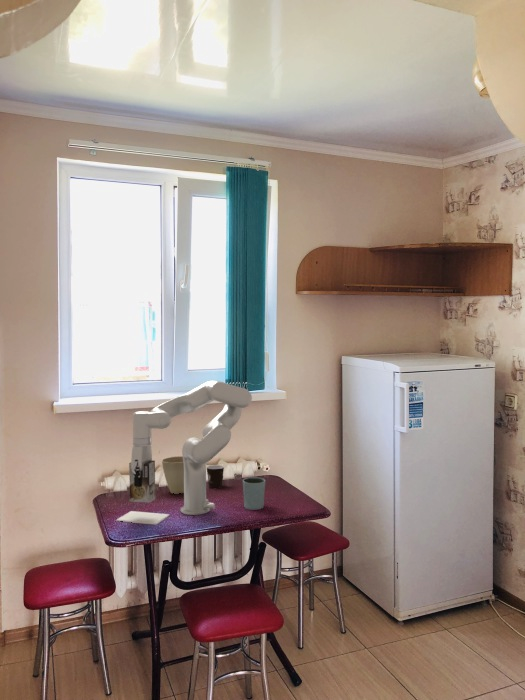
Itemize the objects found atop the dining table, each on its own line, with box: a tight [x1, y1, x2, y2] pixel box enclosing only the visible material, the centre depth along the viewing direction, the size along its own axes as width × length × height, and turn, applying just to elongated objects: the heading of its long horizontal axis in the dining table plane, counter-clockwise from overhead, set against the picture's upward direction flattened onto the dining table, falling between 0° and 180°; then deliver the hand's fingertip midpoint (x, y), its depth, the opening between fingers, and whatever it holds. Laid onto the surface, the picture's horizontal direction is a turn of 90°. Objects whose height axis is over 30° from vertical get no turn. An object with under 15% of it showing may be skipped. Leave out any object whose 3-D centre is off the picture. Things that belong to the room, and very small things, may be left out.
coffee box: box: [128, 459, 156, 503], centre depth 238 cm, size 9×6×16 cm
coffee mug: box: [206, 464, 225, 489], centre depth 286 cm, size 12×9×10 cm
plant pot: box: [161, 455, 184, 495], centre depth 279 cm, size 15×15×16 cm
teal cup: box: [242, 476, 266, 511], centre depth 254 cm, size 10×10×12 cm
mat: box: [116, 510, 170, 526], centre depth 239 cm, size 18×12×1 cm, turn 74°
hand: (142, 483), depth 238 cm, fingers closed on coffee box, 6 cm apart
